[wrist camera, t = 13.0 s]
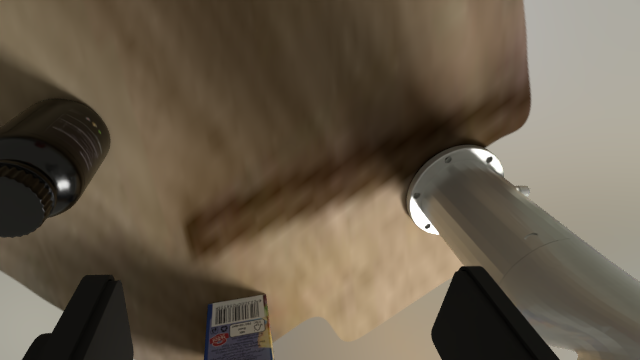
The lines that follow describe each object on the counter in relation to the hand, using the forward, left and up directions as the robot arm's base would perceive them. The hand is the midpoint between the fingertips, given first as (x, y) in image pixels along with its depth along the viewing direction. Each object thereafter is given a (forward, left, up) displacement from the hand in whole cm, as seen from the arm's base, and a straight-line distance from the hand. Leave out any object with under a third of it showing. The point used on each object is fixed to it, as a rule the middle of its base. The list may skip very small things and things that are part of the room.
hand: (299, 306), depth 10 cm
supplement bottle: (+16, +6, -27) cm, 32 cm away
